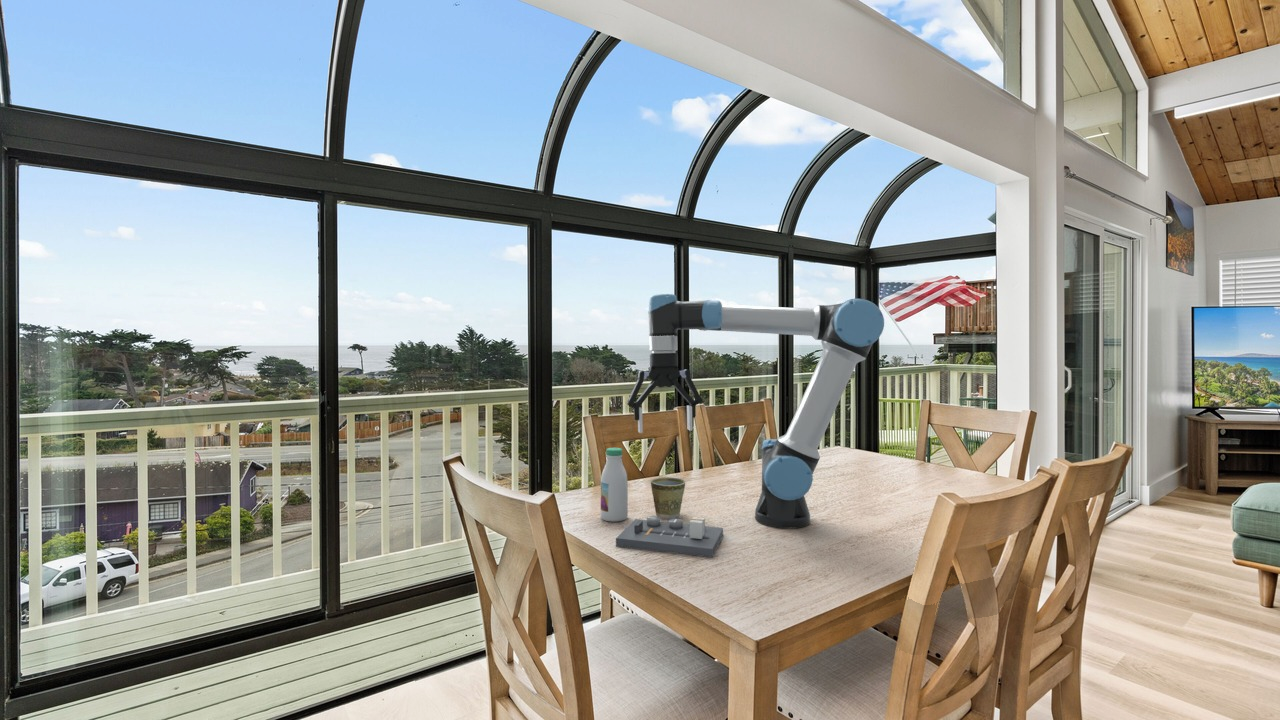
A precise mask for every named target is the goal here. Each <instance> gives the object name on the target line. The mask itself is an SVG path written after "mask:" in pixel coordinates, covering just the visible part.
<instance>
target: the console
mask: <svg viewBox="0 0 1280 720" xmlns="http://www.w3.org/2000/svg"><path fill="white" fill-rule="evenodd" d="M723 537H724V528H723V527H719V526H710V525H705V534H704V536H703V538H702V539H696V538H690V523H689V524H688V523H684V522H683V520H682V519H680V518H671V519H668V521H667V522H666V521H661V518H660V517H658V516H646V519H638V518H635V519H634V520H633V521H632V522H630V524H629V525H628V526H627V527H625V529H624V530H622V532H621V533H620V534H618V536H617V537H615V546H616V547H621V548H629V549H638V550H646V551H647V550H648V551H655V552H663V553H673V554H681V555H690V556H696V557H697V556H699V557H706V558H713V557H714V555H715V553H716V551H717V549H718V546H719V544H720V542H721V540H722V538H723Z"/></svg>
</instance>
